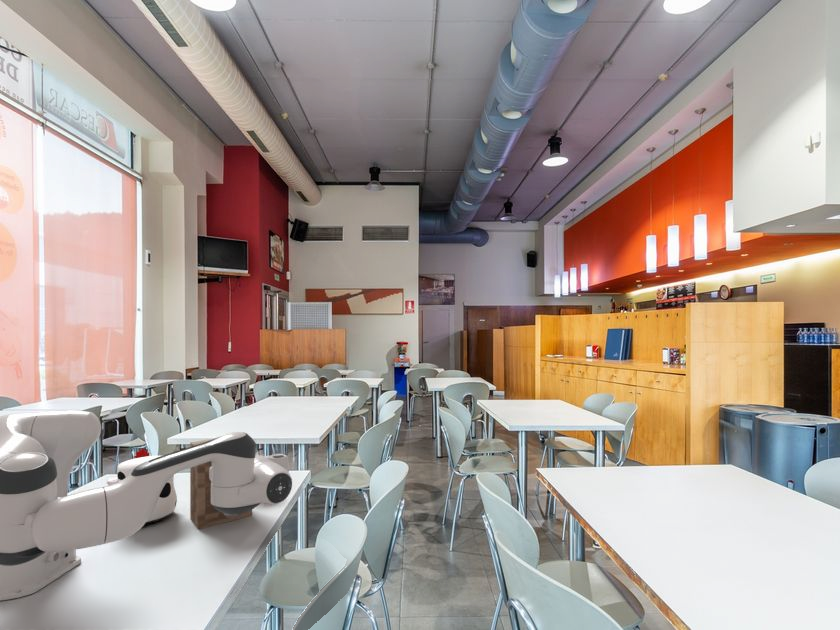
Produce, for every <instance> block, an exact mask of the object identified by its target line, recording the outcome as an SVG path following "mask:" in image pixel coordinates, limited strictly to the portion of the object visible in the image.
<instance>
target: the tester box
mask: <svg viewBox="0 0 840 630" xmlns="http://www.w3.org/2000/svg"><path fill="white" fill-rule="evenodd" d="M213 439H214V438H211V439H205V440H197V441H192V442H189V443H190V445H189V447H192V446H195V445H198V444H201V443H205V442H207V441H210V440H213ZM211 466H212V462H211V461H209V462H206V463H203V464H200V465H197V466H194V467H192V468H189V473H190V474H189V475H190V478H189V479H190V481H189V482H190V483H189V484H190V486H189V487H190V489H189V490H190V496H189V497H190V498H189V501H190V504H189V505H190V508H189V510H190V511H189V512H190V515H189V517H190V518H189V519H190V521H191V522H192V523H193V525H194V526H195V527H196V529H197V530H200V529H204V528H208V527H209V528H210V527H212V526H216V525H220V524H224V523H228V522H231V521H232V522H233V521H236V520H239V519H243V518H247V517H248V518H249V517H251V516H253V509H252V510H250V511H248V512H245V513H240V514H238V515H237V516H236V517H234V518H228V517H226V516H225V515H224V514H223V513H222V512H220V511H218V510H217V509H215V508H214V507H213V506H212V505H211V480H210V479H209V468H210V467H211Z"/></svg>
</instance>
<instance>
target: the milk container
mask: <svg viewBox="0 0 840 630" xmlns="http://www.w3.org/2000/svg"><path fill="white" fill-rule="evenodd" d="M160 456H161V455H149V456H147V457H141V458H135V459H134V458H132V459H128V460H125V461H123V462H120V463H119V464H118V465H117V471H116V472H117V476H116V477H117V482H119V481H121V480H123V479H125V478H126V477H128V476H129V475H130V474H131V473H132V471H133V470H134V468H135V467H136V466H138V465H140V464H142V463H144V462H146V461H149V460H152V459H154V458H157V457H160ZM174 475H175V474H174ZM174 475H173V476H172V477H171V478H170V479H169V480H168V481H167V483H166V484H165V486H164V487H163V489H162V491H161V493H160V495H159V498H158V500H157V503H156V505H155V508H154V510H153V512H152V514H151V516H150V517H149V519H148V520H147V522H146V523H145V524H144V525H148V524H151V523H155V522H158V521H161V520H164V519H166V518H167V517H169V516H171V515H172V513H174V511H175V509H176V508H177V502H178V498H177V497H178V496H177V492H176V489H175V486H174V485H175V484H174V483H175V482H174Z"/></svg>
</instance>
